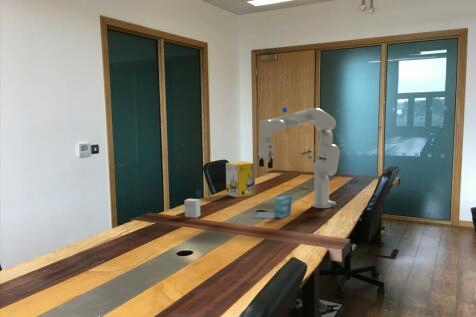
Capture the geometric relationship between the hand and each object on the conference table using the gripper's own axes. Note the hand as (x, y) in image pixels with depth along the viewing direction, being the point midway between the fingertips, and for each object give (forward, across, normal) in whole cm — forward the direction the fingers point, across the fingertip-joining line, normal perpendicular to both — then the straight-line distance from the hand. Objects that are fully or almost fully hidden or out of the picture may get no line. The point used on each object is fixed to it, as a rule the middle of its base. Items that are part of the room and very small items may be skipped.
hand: (265, 167), depth 247 cm
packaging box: (+30, +61, -17) cm, 70 cm away
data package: (+30, -11, -4) cm, 32 cm away
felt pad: (+30, -4, +2) cm, 30 cm away
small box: (+30, +20, +42) cm, 55 cm away
